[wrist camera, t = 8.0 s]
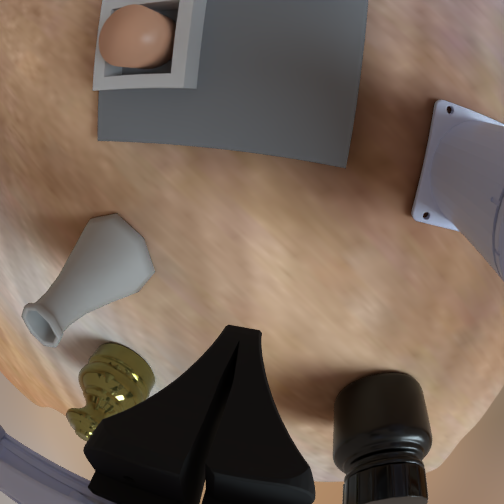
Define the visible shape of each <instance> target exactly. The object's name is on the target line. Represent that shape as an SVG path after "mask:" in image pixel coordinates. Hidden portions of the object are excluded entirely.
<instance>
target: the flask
mask: <svg viewBox="0 0 504 504" xmlns="http://www.w3.org/2000/svg"><path fill="white" fill-rule="evenodd" d="M154 273H155V270H154V267H153V264H152V261H151V258H150V255H149V252H148V249H147V246H146V243H145V240H144V238H143V237H142V236H141V235H140V234H139V233H138V232H136V231H135V230H134V229H133V228H132V227H131V226H130V225H129V224H128V223H127V222H126V221H125V220H124V219H122V218H121V217H120V216H119V215H118V214H117V213H116V214H111V215H106V216H102V217H97V218H92V219H90V220H89V222H88V223H87V225H86V227H85V229H84V230H83V232H82V234H81V236H80V238H79V240H78V241H77V243H76V245H75V247H74V249H73V251H72V252H71V254H70V256H69V258H68V260H67V261H66V263H65V265H64V267H63V269H62V271H61V272H60V274H59V276H58V277H57V278H56V280H55V281H54V282H53V284H52V285H51V286H50V288H49V289H48V291H47V292H46V293H45V294H44V295H43V296H42V297H41V298H40V299H39V300H38V301H37V302H35V303H28V304H26V305H25V306H24V309H23V313H22V318H23V320H24V322H25V324H26V326H27V327H28V329H29V331H30V333H31V334H32V335H33V336H34V337H35V338H37V339H38V340H39V341H40V342H41V343H42V344H43V345H44V346H49V347H56V346H57V345H58V344H59V342H60V340H61V338H62V336H63V332H64V331H65V330H66V329H67V328H68V326H69V325H71V324H72V323H74V322H75V321H76V320H78V319H79V318H81V317H82V316H83V315H85V314H86V313H89V312H91V311H93V310H95V309H98V308H100V307H102V306H104V305H107V304H109V303H111V302H114V301H116V300H119V299H122V298H124V297H127V296H129V295H132V294H134V293H137V292H139V291H140V289H141V288H142V287H143V286H144V285H145V283H146V282H147V281H148V280H149V279H150V277H151V276H152V275H153V274H154Z"/></svg>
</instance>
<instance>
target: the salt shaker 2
mask: <svg viewBox="0 0 504 504" xmlns="http://www.w3.org/2000/svg"><path fill="white" fill-rule="evenodd" d="M78 379H79V384H80V387H81V389H82V391H83V395H84V397H85V400H86V406H85V407H83V408H71V409H69V410H68V411H67V413H66V417H67V419H68V421H69V423H70V425H71V426H72V428H73V429H74V430H75V433H76V434H77V435H78V436H79V437H80V438H82V439H83V440H85V441H88V440H89V438H90V436H91V434H92V432H93V431H94V430H95V428H96V427H97V426H98V424H99V423H100V422H101V421H102V419H104V418H107V417H110V416H112V415H115V414H117V413H120V412H122V411H125V410H127V409H129V408H131V407H133V406H135V405H137V404H139V403H140V402H142V401H144V400H146V399H148V397H149V394H150V392H151V390H152V388H153V386H154V384H155V377H154V374H153V372H152V370H151V368H150V367H149V365H148V364H147V363H146V362H145V361H144V360H143V359H142V358H141V357H140V356H139V355H137V354H136V353H135V352H133V351H132V350H130V349H128V348H126V347H124V346H121V345H118V344H113V343H107V344H103V345H101V346H99V347H98V349H97V350H96V352H95V353H94V354H93V355H92V356H91V357H90V358H89V361H88V364H87V365H85V366H84V367H83V368H82V369H81V370H80V372H79V376H78Z"/></svg>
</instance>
